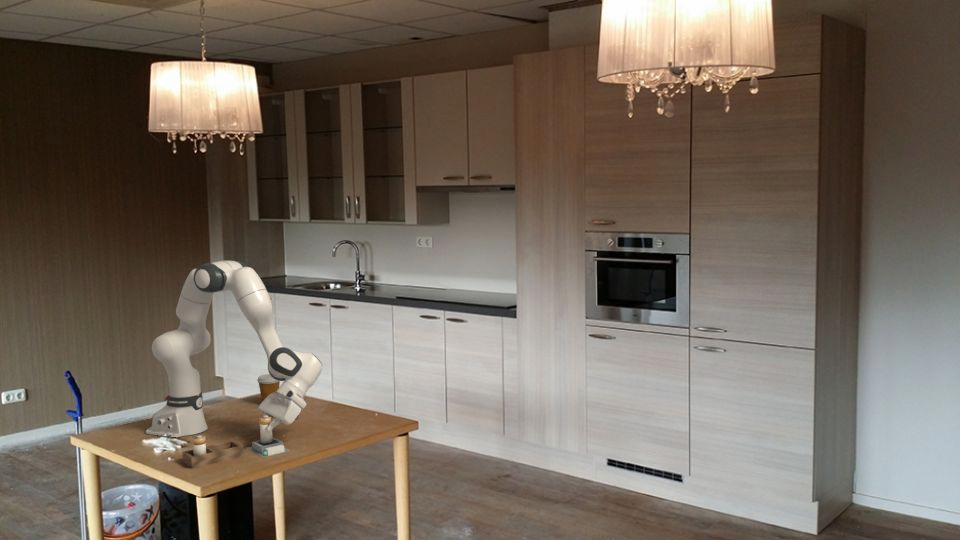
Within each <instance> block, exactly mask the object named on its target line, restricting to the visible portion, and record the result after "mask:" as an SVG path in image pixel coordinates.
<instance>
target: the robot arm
mask: <svg viewBox="0 0 960 540" xmlns="http://www.w3.org/2000/svg"><path fill="white" fill-rule="evenodd" d="M181 289H182V290H181V292H180V296H179V299H178V302H177V306H176V309H175V315H176V316H177V318H178V319H179V326H178V328H177V329H174V330H171V331H170V330H169V331H167V332H164V333H162V334H161V335H159V336H156V338H154V340H153V342H152V344H151V352H152V355H153V357H154V358H155V359H156V360H157V361H159V362H160V363H161V364H162V365H163V366H164V369H165V372H166V374H167V379H168V388H169V395H167V396H166V397H164V398H163V401H164V402H165V401H166V403H165V404H166V405H164V406H163V407H162V408H161V409H160V410H158V411H157V412H156V413H155V414H154V415H153V417H152V421H151V426H150V427H149V428H147V429H146V430H145V434H146V435H151V436H157V435H158V437H162V436H161V435H163V434H168V435H171V436H174V437H176V438H180V437H184V436H192V435H197V434H200V433H202V432H205V431H207V430H208V429H209V427H208V425H207V422H206V419H205V414H204V409H203V403H204V401H203V392H202V391H201V377H200V375H201V374H200V372H199V370H198V369H196V368H195V367H193V365H192V363H191V359H190V357H192V356H194V355H198V354H201V353H202V352H204V350H206V349H207V348H208V347H209V346H210V344H211V342H212V341H211V340H212V339H211V334H210V332H209V331H208V329H207V316H208V313H209V310H210V306H211V303H212V300H213V297H214V293H222V292H223V293H224V292H227V291H230V292H231V293H232V294H233V296H234V299H235V300H236V302H237V305H238V308H239V309H240V311H241V312H242V313H243V315H244V317H245V318H246V320H247V321H248V323H249V324H250V325H251V326H252V328H253V329H254V331H255V332H256V334H257V336H258V338H259V340H260V342H261V345H262V348H263V349H264V351H265V354H266V357H267V371H268V374H270V375H271V377H272V378H274V379H275V380H278V381H280V382H282V383H281V384H280V385H279V388H278V390H277V391H276V392H273V393H271V394H269V395H268V396H267V397H266V398H265V400H264V401H263V402H262V401H261V403H260V404H259V406H258V409H257V410H258V411H260V412H261V413H262V416H264V415H268V416H271V417H272V422H271V423H270V424H268V425H267V426H266V429H267V430H268V431H272V432H273V429H274V428H275V427H278V425H280V423H283V424H285V425H287V426H289V425H291V424H292V423H293V422H294V421H296V420H295V419H297V417H299V414H300V413H301V411H302V410H303V409H305V408H306V407H307V402H306V401H305V399H304V398H305V396H306V395H307V392H308V390H309V389H310V388H311V387H313V385H314V384H315V383H316V381H317V380H318V378H319V377H320V375H321V373H322V371H323V364H322V362H321V360H320V359H319V358H318V356H316V355H315V354H314V353H312V352H301V351H296V350H294V349H291V348H288V347H284V346H283V344H282V342H281V340H280V338H279V335H278V333H277V330H276V328H275V324H274V314H273V313H274V310H273V304H272V300H271V297H270V294H269V292H268V290H267V288H266V285H265V284H264V282H263V281H262V279H261V277H260V276H259V275H258V273H257V272H256V271H255V270H254V269H253V267H249V266H247V264H246V263H245V262H243V261H240V260H236V259H231V260H217V261H213V262H206V263H203V264H201V265H199V266H198V267H197V268H193V269H192V270H191V271H189V274H188V276H187V278H186V280H185V281H184V284H183V285H182V288H181ZM258 426H259V427H260V422H259V423H258Z"/></svg>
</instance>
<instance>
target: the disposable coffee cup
mask: <svg viewBox="0 0 960 540" xmlns="http://www.w3.org/2000/svg"><path fill="white" fill-rule="evenodd" d="M256 382H258V386H259V391H260V396H261V403H262V402H263V401H264V400H265V398H266V397H267V396H268V395H269V394H271V393H273V392H276V391H277V390H278V388H279V387H280V385H281V384H280V382H281V381H278V380H275V379H274V378H272V377H271V375H270V374H269V373H268V374H267V373H266V374H262V375H259V376H258V378H257V381H256Z"/></svg>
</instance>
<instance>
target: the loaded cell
mask: <svg viewBox="0 0 960 540" xmlns="http://www.w3.org/2000/svg"><path fill="white" fill-rule="evenodd" d="M206 440H207V439H206V435H201V434H198V435H197V434H196V435H195V436H193V437H192V448H193V449H192V450H193V454H194V456H199V455H203V454H206V447H207V445H206V444H207V443H206V442H207V441H206Z"/></svg>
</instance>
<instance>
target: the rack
mask: <svg viewBox="0 0 960 540" xmlns="http://www.w3.org/2000/svg"><path fill="white" fill-rule="evenodd" d="M244 453H245V451H244V445H242V444H240V443H239V442H237V441H235V440H229V441H224V442H221V443H216V444H212V445H208V446H207V445H206V454H203V455H199V456H194V454H193V449H189V450H185V451H182V463H183V464H185V465H186V466H188V467H189V468H190V469H197V468H201V467H205V466H210V465H213V464H218V463H221V462H227V461H231V460H234V459H239V458H243V457H244V456H245V454H244Z"/></svg>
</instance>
